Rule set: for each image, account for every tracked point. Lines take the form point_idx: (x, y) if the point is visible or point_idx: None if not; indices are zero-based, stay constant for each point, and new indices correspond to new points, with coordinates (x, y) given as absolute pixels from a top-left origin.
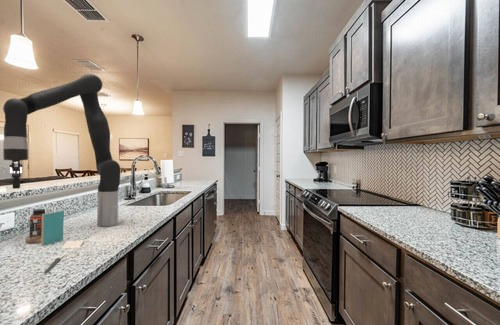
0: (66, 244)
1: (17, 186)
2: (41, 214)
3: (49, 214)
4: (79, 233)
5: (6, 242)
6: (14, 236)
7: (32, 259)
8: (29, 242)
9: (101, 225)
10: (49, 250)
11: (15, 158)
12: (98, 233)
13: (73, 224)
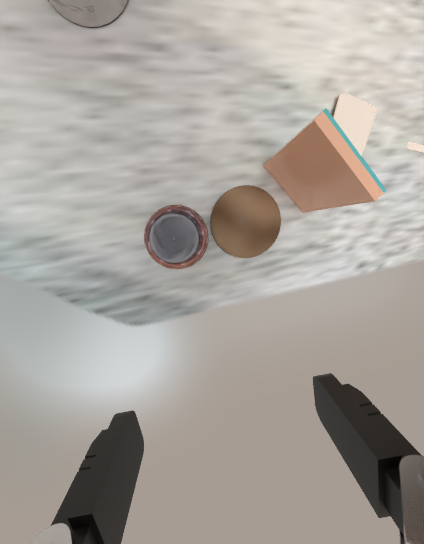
0: None
1: (353, 395)
2: (197, 225)
3: (367, 172)
4: (207, 107)
5: (226, 302)
6: (160, 299)
7: (414, 214)
8: (271, 244)
9: (122, 5)
10: None
11: None
12: (239, 37)
13: (28, 131)
